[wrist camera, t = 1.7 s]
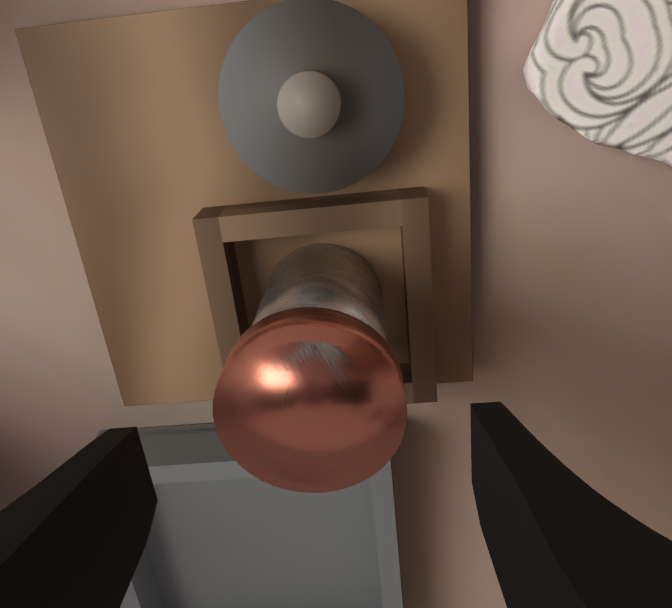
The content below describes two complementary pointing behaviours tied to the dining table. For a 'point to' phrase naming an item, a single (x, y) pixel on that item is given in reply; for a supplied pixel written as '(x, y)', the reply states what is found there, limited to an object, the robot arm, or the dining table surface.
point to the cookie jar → (608, 72)
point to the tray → (259, 535)
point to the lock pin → (314, 377)
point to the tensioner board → (189, 159)
